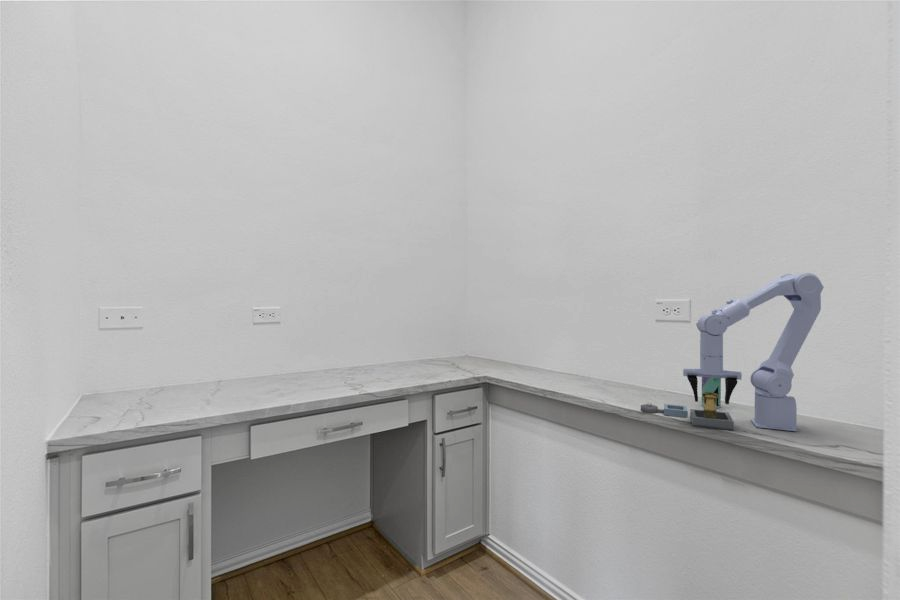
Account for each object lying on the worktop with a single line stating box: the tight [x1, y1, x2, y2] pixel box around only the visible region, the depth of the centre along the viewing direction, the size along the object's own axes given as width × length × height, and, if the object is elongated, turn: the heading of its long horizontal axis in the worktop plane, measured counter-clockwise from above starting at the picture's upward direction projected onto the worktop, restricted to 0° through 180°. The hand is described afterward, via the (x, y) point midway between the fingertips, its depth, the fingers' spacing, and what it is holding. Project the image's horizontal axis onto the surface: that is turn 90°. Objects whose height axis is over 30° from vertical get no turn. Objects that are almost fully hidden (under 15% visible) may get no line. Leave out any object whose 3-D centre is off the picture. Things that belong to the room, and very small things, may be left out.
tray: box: [689, 408, 735, 431], centre depth 130 cm, size 10×10×2 cm
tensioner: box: [640, 402, 689, 418], centre depth 141 cm, size 13×6×2 cm, turn 65°
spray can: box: [701, 374, 722, 410], centre depth 148 cm, size 6×6×20 cm
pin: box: [701, 392, 718, 419], centre depth 130 cm, size 4×4×8 cm
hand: (711, 402), depth 130 cm, fingers open, 7 cm apart
